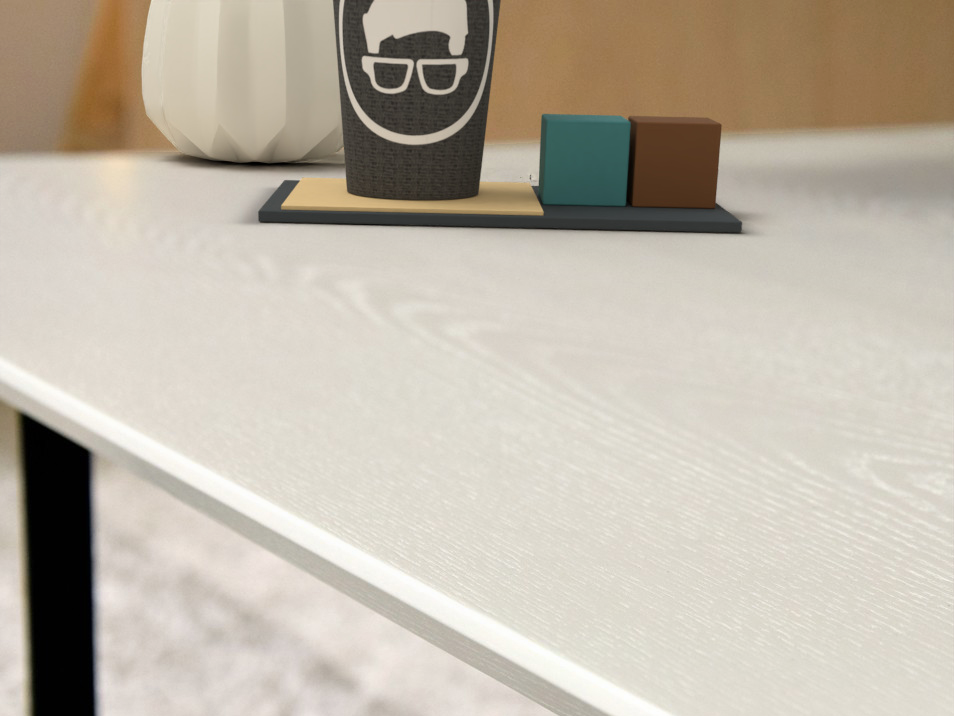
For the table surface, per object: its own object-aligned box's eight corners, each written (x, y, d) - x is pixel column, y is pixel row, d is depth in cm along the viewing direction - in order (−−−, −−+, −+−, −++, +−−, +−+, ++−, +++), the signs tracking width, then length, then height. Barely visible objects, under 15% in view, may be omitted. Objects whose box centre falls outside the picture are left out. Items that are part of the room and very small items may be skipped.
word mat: (698, 198, 86) (704, 111, 85) (741, 232, 74) (749, 131, 73) (284, 189, 87) (283, 102, 85) (258, 221, 74) (257, 120, 73)
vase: (289, 176, 93) (288, -75, 89) (100, 159, 99) (91, -75, 95) (411, 158, 104) (415, -65, 100) (234, 144, 111) (231, -66, 106)
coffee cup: (549, 195, 80) (564, -132, 76) (415, 209, 74) (422, -149, 69) (410, 177, 87) (416, -126, 82) (275, 189, 80) (273, -140, 75)
